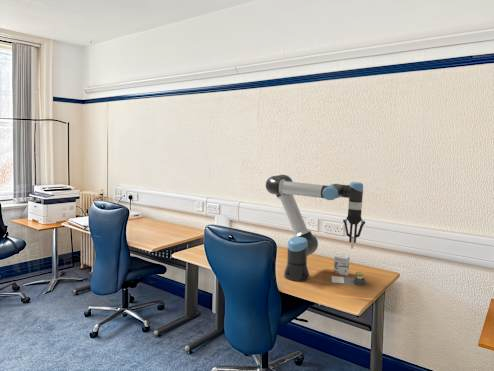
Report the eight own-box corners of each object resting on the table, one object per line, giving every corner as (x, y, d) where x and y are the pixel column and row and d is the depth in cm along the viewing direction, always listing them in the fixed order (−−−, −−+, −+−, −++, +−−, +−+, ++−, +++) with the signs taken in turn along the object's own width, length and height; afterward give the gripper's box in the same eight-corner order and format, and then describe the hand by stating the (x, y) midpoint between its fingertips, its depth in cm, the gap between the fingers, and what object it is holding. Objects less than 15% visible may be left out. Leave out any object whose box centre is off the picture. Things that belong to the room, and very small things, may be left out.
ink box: (333, 274, 235) (334, 256, 234) (335, 272, 240) (336, 254, 238) (347, 277, 231) (348, 258, 230) (349, 274, 236) (350, 256, 234)
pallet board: (331, 284, 220) (331, 282, 220) (330, 277, 230) (330, 275, 230) (365, 287, 216) (365, 285, 216) (363, 280, 227) (363, 278, 227)
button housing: (354, 284, 217) (354, 279, 217) (353, 280, 223) (353, 275, 223) (365, 285, 216) (365, 280, 216) (364, 281, 222) (364, 276, 221)
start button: (355, 283, 218) (356, 273, 217) (355, 280, 222) (355, 271, 221) (363, 284, 217) (364, 274, 216) (362, 281, 221) (363, 272, 220)
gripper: (343, 209, 219) (340, 248, 222) (367, 210, 216) (363, 250, 219) (343, 206, 226) (340, 245, 229) (366, 208, 223) (363, 247, 226)
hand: (352, 247), depth 224 cm, fingers closed
